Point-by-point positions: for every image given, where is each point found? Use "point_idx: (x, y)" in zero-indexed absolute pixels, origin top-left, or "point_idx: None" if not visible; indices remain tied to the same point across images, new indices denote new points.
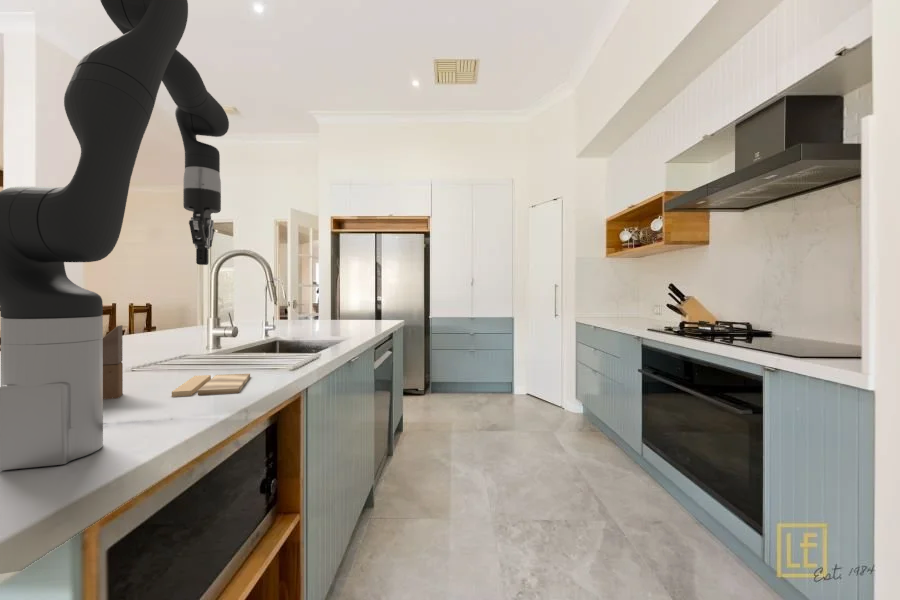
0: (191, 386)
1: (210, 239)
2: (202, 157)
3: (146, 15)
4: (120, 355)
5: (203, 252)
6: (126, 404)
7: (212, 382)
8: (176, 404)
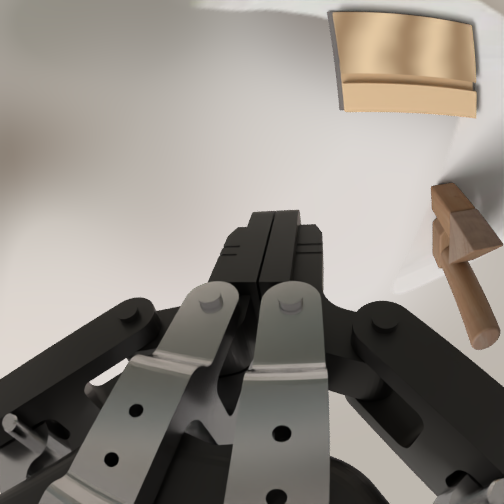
0: (447, 95)
1: (153, 357)
2: None
3: None
4: (468, 216)
5: (321, 274)
6: (466, 168)
7: (421, 66)
8: (486, 105)
